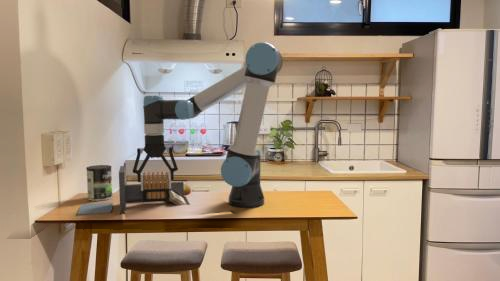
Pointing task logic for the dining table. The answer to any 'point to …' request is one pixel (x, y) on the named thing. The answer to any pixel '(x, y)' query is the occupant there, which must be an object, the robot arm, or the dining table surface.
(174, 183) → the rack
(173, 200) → the offcut lower
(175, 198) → the offcut upper
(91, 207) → the mat
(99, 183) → the coffee can
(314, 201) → the dining table surface
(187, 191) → the fruit
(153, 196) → the ammunition clip
